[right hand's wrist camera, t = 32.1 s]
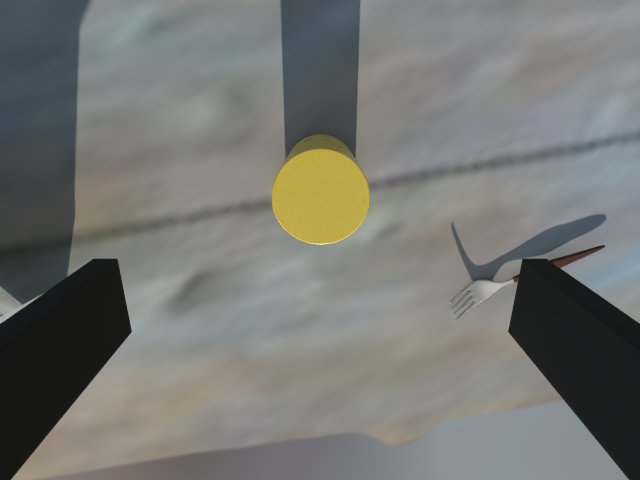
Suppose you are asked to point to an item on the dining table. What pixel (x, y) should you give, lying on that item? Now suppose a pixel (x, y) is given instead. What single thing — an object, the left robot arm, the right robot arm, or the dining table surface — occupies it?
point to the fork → (507, 281)
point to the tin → (320, 191)
